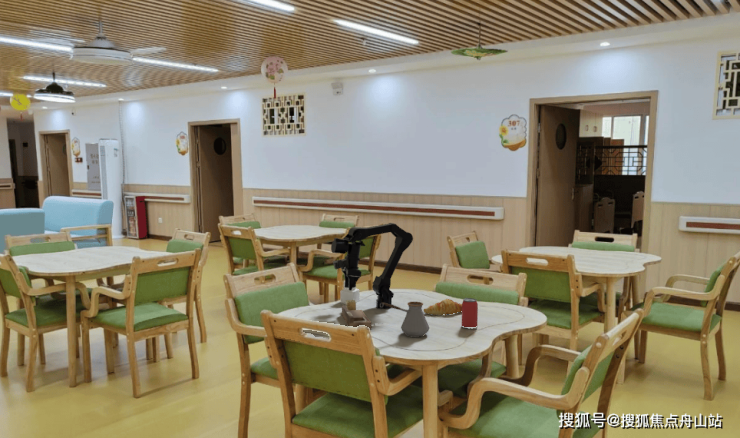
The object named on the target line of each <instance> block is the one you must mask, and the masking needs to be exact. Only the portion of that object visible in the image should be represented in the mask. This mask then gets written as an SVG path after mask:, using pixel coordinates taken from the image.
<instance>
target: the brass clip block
mask: <svg viewBox="0 0 740 438" xmlns="http://www.w3.org/2000/svg"><path fill="white" fill-rule="evenodd" d="M345 306H346V307H347V309H348V310H349V311H350V310H357V303H356V302H355V300H346V303H345Z"/></svg>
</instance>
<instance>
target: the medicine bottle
mask: <svg viewBox="0 0 740 438" xmlns="http://www.w3.org/2000/svg"><path fill="white" fill-rule="evenodd" d="M339 292H340V297H339V298H340V304H346V300H355V302H356V304H357V303H359V302H360V289H359V288H357V283H356V284H355V285H354V287H353V289H352V290H349V285H348V287H346V286H345V280H343V289H341V290H340V291H339Z"/></svg>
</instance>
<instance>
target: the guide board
mask: <svg viewBox="0 0 740 438" xmlns="http://www.w3.org/2000/svg"><path fill="white" fill-rule="evenodd" d="M341 316H342V319H343V320H344V322H345V323H346V324H347V325H348V326H353V327H357V326H359V325H365V326H367V327H369V328H370V329H369V330H372V321H371V320H370V319H369V317H368V316H367V315H366V313H365V312H364V311H363V310H362V309H356V310H350V311H349V310H348V309H347V307H346V304H345V305H341ZM348 326H347V327H348Z"/></svg>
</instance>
